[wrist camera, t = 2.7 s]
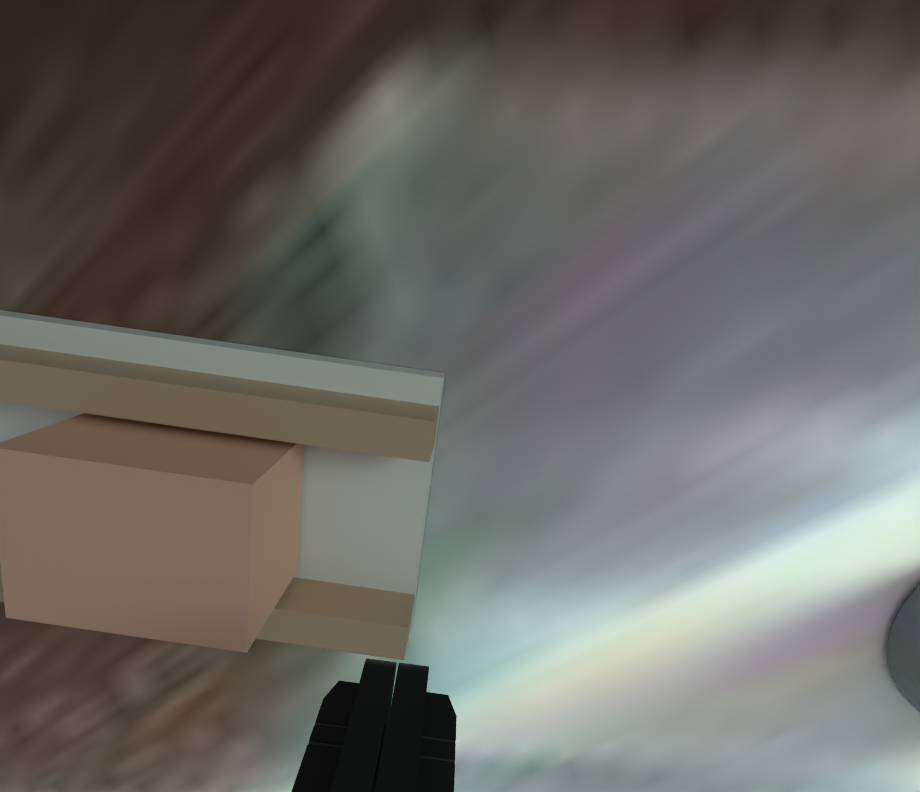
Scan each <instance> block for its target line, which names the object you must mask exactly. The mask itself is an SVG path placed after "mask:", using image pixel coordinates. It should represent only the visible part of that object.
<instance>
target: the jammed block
mask: <svg viewBox="0 0 920 792" xmlns="http://www.w3.org/2000/svg"><path fill="white" fill-rule="evenodd" d="M303 457H304V444H297V443H290V442H283V441H276V440H269V439H262V438H255V437H248V436H241V435H234V434H227V433H220V432H213V431H206V430H199V429H192V428H185V427H178V426H171V425H164V424H157V423H150V422H143V421H136V420H129V419H122V418H115V417H108V416H101V415H94V414H87V413H83V414H80V415H77V416H74V417H72V418H69V419H66V420H63V421H60V422H57V423H54V424H52V425H49V426H46V427H43V428H40V429H37V430H35V431H32V432H29V433H26V434H23V435H20V436H17V437H15V438H12V439H9V440H6V441H3V442H0V565H1V575H2V584H3V594H4V603H5V613H6V618H11V619H18V620H25V621H32V622H39V623H46V624H52V625H59V626H66V627H73V628H80V629H87V630H94V631H101V632H107V633H114V634H121V635H128V636H135V637H142V638H149V639H156V640H162V641H169V642H176V643H183V644H190V645H197V646H204V647H210V648H217V649H224V650H231V651H238V652H245V653H247V651H248V650H249V648H250V646H251V645H252V643H253V642H254V640H255V638H256V637H257V635H258V634H259V632H260V630H261V629H262V627H263V625H264V624H265V622H266V621H267V619H268V617H269V616H270V614H271V612H272V611H273V609H274V608H275V606H276V604H277V603H278V601H279V599H280V598H281V596H282V595H283V593H284V591H285V590H286V588H287V587H288V585H289V583H290V582H291V580H292V578H293V577H294V575H295V574H296V570H297V554H298V538H299V522H300V506H301V490H302V473H303Z"/></svg>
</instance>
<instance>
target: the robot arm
mask: <svg viewBox="0 0 920 792" xmlns="http://www.w3.org/2000/svg"><path fill="white" fill-rule="evenodd" d="M887 661H888V665H889V669H890V673H891V677H892V679H893V681H894V683H895V684H896V686H897V688H898V689H899V691H900V693H901V694H902V695H903V696H904V697H905V698H906V699H907V700H908V701H909V702H910V703H911V704H912V705H913V706H914V707H915V708H916V709H917V710H918V711H919V712H920V585H919V586H918V587H917V588H916V589H915V591H914V592H913V593H912V594H911V595H910V597H909V598H908V599H907V600H906V601H905V603H904V604H903V606H902V607H901V609H900V611H899V613H898V615H897V617H896V619H895V620H894V622H893V625H892V629H891V632H890V636H889V639H888V654H887ZM428 671H429V667H427V666H420V665H412V664H405V663H399V666H398V671H397V676H396V682H395V687H394V680H395V672H396V662H389V661H381V660H374V659H366V661H365V664H364V668H363V672H362V676H361V679H360V683H352V682H345V681H338V683H337V684H336V685H335V686H334V687H333V688H332V689H331V691H330V692H329V693H328V694H327V695H326V696H325V698H324V699H323V702H322V705H321V707H320V710H319V713H318V716H317V719H316V723H315V726H314V728H313V731H312V734H311V737H310V740H309V744H308V745H307V748H306V751H305V754H304V757H303V760H302V763H301V766H300V769H299V772H298V774H297V777H296V780H295V783H294V786H293V789H292V792H454V773H455V740H456V714H455V711H454V709H453V706H452V704H451V701H450V699H449V696H448V695H444V694H436V693H429V692H426V690H427V681H428ZM393 687H394V693H393ZM392 695H393V698H392ZM391 702H392V704H391Z"/></svg>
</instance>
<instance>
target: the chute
mask: <svg viewBox="0 0 920 792" xmlns="http://www.w3.org/2000/svg"><path fill="white" fill-rule="evenodd" d="M444 377H445V373H441V372H434V371H427V370H420V369H413V368H406V367H399V366H392V365H385V364H378V363H371V362H363V361H356V360H349V359H342V358H335V357H328V356H321V355H314V354H307V353H300V352H293V351H286V350H279V349H272V348H265V347H258V346H251V345H243V344H236V343H229V342H222V341H215V340H208V339H201V338H194V337H187V336H180V335H173V334H166V333H159V332H152V331H145V330H138V329H131V328H123V327H116V326H109V325H102V324H95V323H88V322H81V321H74V320H67V319H60V318H53V317H46V316H39V315H32V314H25V313H18V312H11V311H3V310H0V442H3V441H6V440H9V439H12V438H15V437H17V436H20V435H23V434H26V433H29V432H32V431H35V430H37V429H40V428H43V427H46V426H49V425H52V424H54V423H57V422H60V421H63V420H66V419H69V418H72V417H74V416H77V415H80V414H83V413H87V414H94V415H101V416H108V417H115V418H122V419H129V420H136V421H143V422H150V423H157V424H164V425H171V426H178V427H185V428H192V429H199V430H206V431H213V432H220V433H227V434H234V435H241V436H248V437H255V438H262V439H269V440H276V441H283V442H290V443H297V444H304V457H303V473H302V490H301V506H300V522H299V538H298V554H297V570H296V574H295V575H294V577H293V578H292V580H291V582H290V583H289V585H288V587H287V588H286V590H285V591H284V593H283V595H282V596H281V598H280V599H279V601H278V603H277V604H276V606H275V608H274V609H273V611H272V612H271V614H270V616H269V617H268V619H267V621H266V622H265V624H264V625H263V627H262V629H261V630H260V632H259V634H258V635H257V637H256V638H255V639H261V640H268V641H275V642H282V643H289V644H296V645H302V646H309V647H316V648H323V649H330V650H337V651H344V652H351V653H358V654H364V655H371V656H378V657H385V658H392V659H399V660H404V657H405V652H406V647H407V646H408V644H409V639H410V634H411V628H412V621H413V613H414V606H415V598H416V590H417V583H418V575H419V567H420V560H421V552H422V545H423V537H424V529H425V522H426V514H427V506H428V499H429V491H430V483H431V476H432V468H433V461H434V453H435V445H436V438H437V430H438V422H439V415H440V407H441V400H442V392H443V384H444ZM0 602H4V594H3V584H2V575H1V565H0Z"/></svg>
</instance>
